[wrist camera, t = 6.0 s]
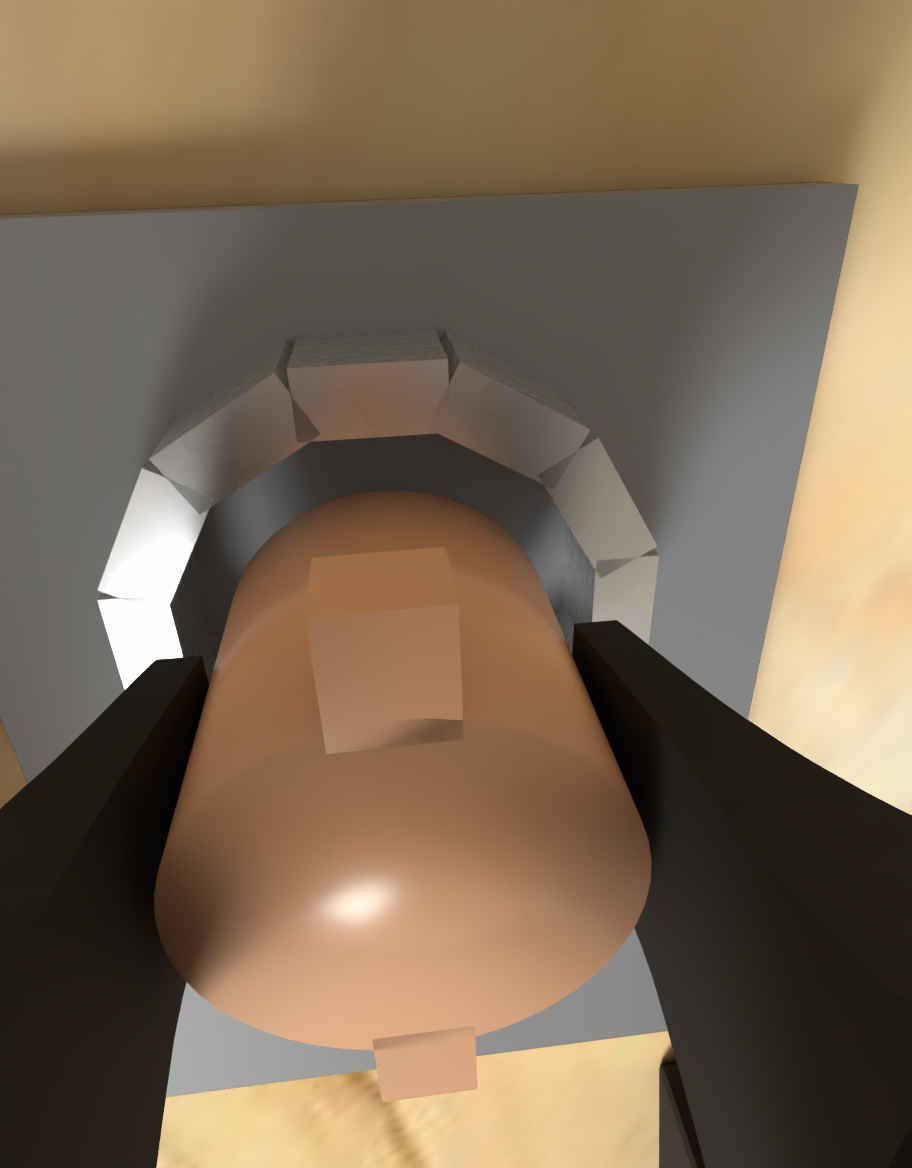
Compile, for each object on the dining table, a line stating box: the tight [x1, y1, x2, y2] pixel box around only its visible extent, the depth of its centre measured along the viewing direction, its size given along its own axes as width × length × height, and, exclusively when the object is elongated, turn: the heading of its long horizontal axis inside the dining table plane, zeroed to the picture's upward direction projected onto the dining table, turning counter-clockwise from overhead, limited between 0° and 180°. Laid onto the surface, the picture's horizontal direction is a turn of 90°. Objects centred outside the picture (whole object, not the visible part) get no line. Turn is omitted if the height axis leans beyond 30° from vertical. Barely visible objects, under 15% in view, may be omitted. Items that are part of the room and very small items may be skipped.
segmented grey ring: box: [97, 329, 659, 689], centre depth 13 cm, size 8×8×2 cm
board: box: [0, 182, 858, 1097], centre depth 17 cm, size 15×22×1 cm
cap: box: [154, 490, 652, 1102], centre depth 10 cm, size 5×7×5 cm
